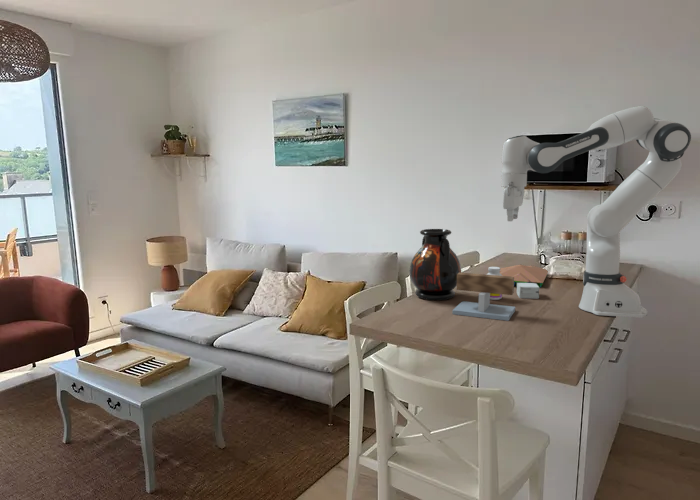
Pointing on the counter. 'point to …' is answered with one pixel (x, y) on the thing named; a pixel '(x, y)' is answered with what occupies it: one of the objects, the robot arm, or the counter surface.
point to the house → (525, 274)
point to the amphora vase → (435, 266)
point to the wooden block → (485, 283)
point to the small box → (528, 290)
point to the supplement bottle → (497, 272)
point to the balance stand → (484, 309)
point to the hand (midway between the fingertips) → (512, 220)
